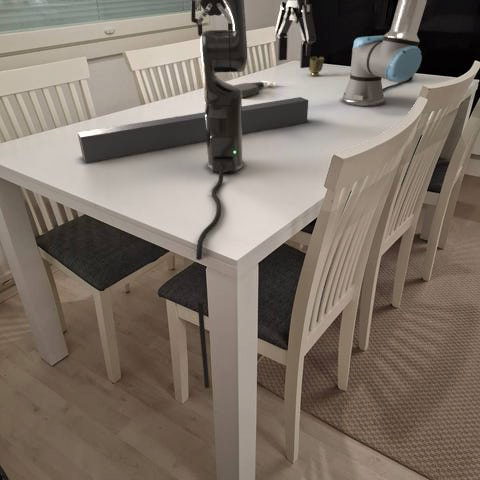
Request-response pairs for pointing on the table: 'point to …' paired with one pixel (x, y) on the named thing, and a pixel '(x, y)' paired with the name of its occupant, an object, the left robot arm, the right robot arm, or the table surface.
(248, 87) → the spray bottle
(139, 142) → the bar
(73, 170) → the table surface
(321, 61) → the cup
